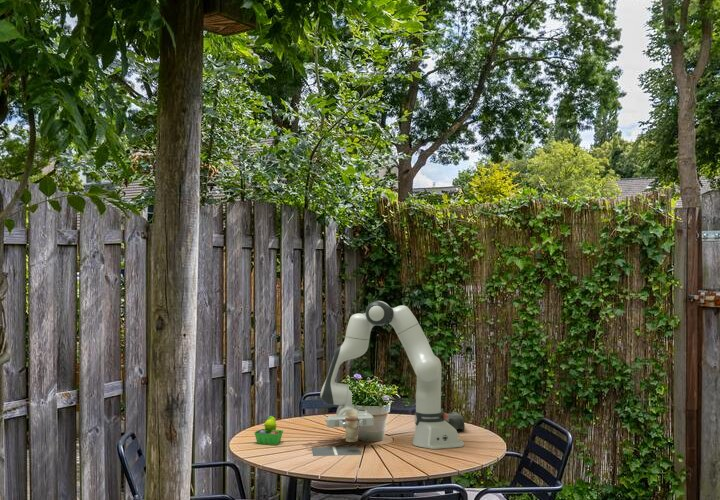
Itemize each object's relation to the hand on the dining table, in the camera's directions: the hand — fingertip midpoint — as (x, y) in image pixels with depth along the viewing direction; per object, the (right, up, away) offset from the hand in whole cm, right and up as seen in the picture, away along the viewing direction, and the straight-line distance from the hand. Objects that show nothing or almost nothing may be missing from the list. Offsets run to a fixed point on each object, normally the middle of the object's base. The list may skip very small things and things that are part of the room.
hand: (351, 424), depth 269 cm
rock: (+47, -15, +46) cm, 68 cm away
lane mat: (-7, -12, -1) cm, 13 cm away
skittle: (0, -7, 0) cm, 7 cm away
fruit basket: (-37, -13, +18) cm, 43 cm away
